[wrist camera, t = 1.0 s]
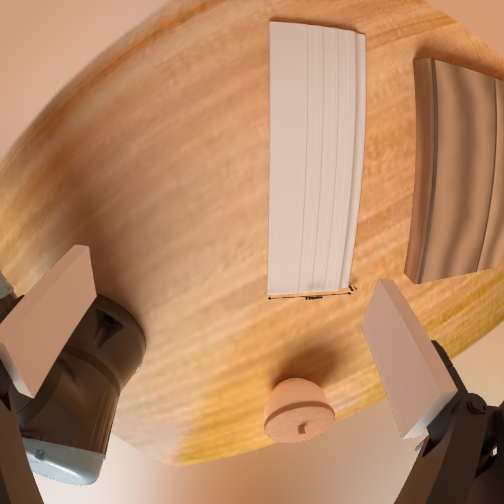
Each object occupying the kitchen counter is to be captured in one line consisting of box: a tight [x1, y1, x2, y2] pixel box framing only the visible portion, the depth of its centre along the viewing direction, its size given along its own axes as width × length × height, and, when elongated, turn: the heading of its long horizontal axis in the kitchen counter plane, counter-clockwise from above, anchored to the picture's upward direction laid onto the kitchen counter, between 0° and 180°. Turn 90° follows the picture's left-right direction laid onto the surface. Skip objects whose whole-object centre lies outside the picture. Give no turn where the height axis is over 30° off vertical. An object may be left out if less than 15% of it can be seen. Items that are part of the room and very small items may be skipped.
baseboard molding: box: [267, 22, 366, 300], centre depth 31 cm, size 31×3×12 cm
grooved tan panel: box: [404, 58, 504, 284], centre depth 31 cm, size 18×28×3 cm, turn 4°
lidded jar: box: [264, 378, 335, 443], centre depth 42 cm, size 11×11×9 cm
